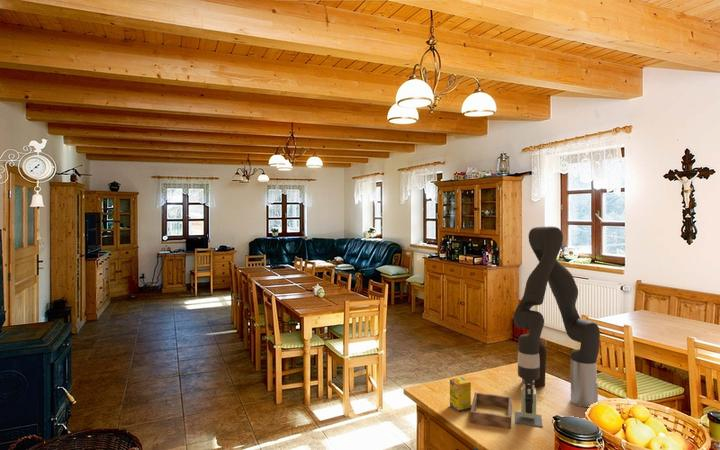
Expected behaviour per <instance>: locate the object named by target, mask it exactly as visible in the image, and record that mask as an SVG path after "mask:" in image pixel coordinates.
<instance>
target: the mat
mask: <svg viewBox="0 0 720 450" xmlns="http://www.w3.org/2000/svg"><path fill="white" fill-rule="evenodd" d="M515 424H517V425H525V426H529V427H538V428H543V418H542V414H537V413H536V419H535V418H527V417H521V411H515Z"/></svg>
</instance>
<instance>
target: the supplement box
mask: <svg viewBox="0 0 720 450" xmlns="http://www.w3.org/2000/svg"><path fill="white" fill-rule="evenodd" d="M471 383H472V382H471V381H470V380H469V381H468V379H466V378H464V377H463V376H458V377H454V378H450V379H449V406H450V407H451V408H452V409H454V410H456V412H457V413H461V412H465V411H471V407H472V401H471V400H472V399H471V398H472V396H471V395H472V392H471V390H472V389H471V388H472V387H471V386H472V384H471Z"/></svg>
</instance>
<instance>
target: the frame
mask: <svg viewBox="0 0 720 450" xmlns="http://www.w3.org/2000/svg"><path fill="white" fill-rule="evenodd" d="M512 401H513V399H512V396H507V395H499V394H491V393H482V392H476V391H475V392H474V395H473V399H472V402H471V409H470V415H469V416H470V423H471V424H478V425H484V426H489V427H497V428H504V429H512V411H513V410H512V406H513V405H512V403H513V402H512ZM478 404H479V405H485V406H486V405H487V406H492V407H493V406H494V407H501V408H508V409H507V410H508V411H507V412H508V415H504V414H496V413H491V412H490V413H489V412H481V411H478V410H477V406H478Z"/></svg>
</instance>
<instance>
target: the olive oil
mask: <svg viewBox="0 0 720 450" xmlns="http://www.w3.org/2000/svg"><path fill="white" fill-rule="evenodd" d="M547 353H548V351H547V347H546V345H545V343H544V342H543V341H542V340H541V339H540V340H539V358H540V377H539V379H537V380H532V381H534V384H535V388H534V389H541V388H544V387H545V386H546V373H547V372H546V369H547ZM521 380H522V381H521V382H522V384H523V380H525V379H523V378H521Z"/></svg>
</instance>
